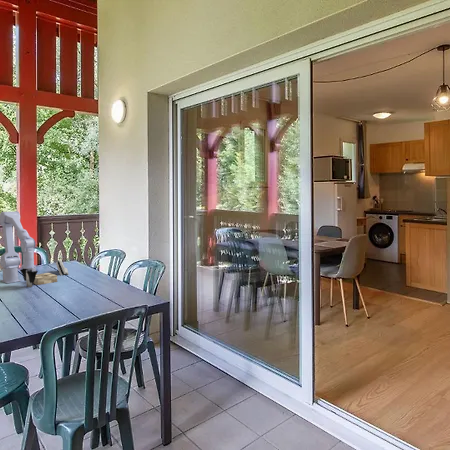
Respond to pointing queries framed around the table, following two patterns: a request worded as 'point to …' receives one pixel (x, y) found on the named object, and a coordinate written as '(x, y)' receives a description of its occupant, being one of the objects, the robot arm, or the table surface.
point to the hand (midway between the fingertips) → (29, 281)
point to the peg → (28, 280)
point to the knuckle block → (45, 278)
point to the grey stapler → (61, 268)
